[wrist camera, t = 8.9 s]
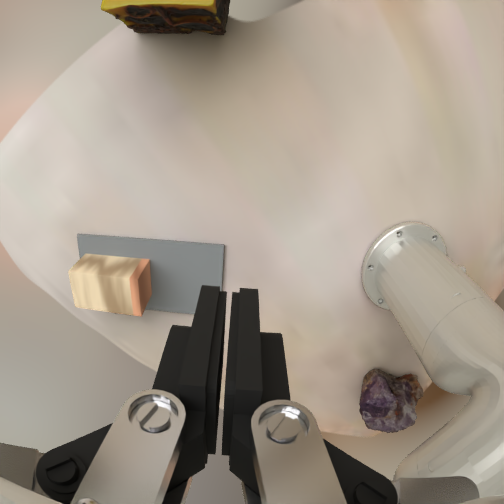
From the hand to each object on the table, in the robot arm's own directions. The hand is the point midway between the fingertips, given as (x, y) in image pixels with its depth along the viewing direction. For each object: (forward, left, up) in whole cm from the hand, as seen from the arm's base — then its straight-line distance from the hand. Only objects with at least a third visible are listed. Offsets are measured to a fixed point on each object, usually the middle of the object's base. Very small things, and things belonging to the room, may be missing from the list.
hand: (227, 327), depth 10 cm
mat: (+11, +14, -27) cm, 32 cm away
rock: (-26, +33, -27) cm, 50 cm away
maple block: (+11, +14, -24) cm, 30 cm away
